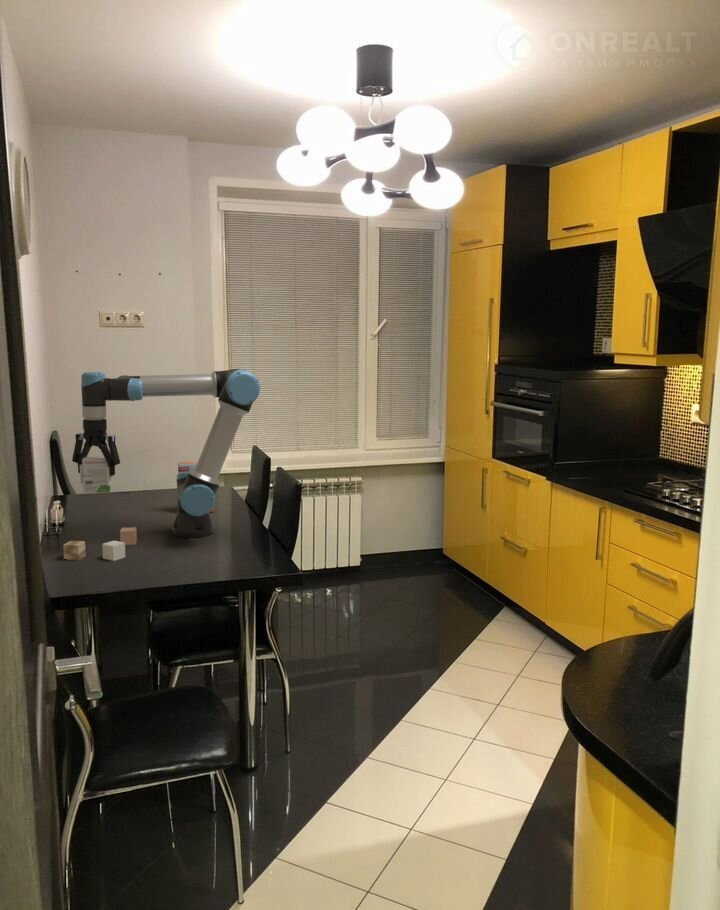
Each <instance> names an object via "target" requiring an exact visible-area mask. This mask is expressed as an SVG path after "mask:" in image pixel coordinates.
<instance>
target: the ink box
mask: <svg viewBox="0 0 720 910" xmlns="http://www.w3.org/2000/svg"><path fill="white" fill-rule="evenodd" d="M107 466H108V463H107V461H106V459H105V457H104V456H87V457H84V458H83V459H82V472H83V484H82V490H83V491H82V492H83V494H95V493H97V494H98V493H103V494H104V493H110V492H111V485H110V486H107V472H106V467H107Z"/></svg>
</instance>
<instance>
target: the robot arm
mask: <svg viewBox="0 0 720 910" xmlns="http://www.w3.org/2000/svg"><path fill="white" fill-rule="evenodd" d="M260 384H261V383H260V381H259V378H258V377H257V376H256V375H255V374H254V373H253V372H251V371H249V370H246V369H242V368H232V369H227V370H216V371H215V370H214V371H212V372H211V373H205V374H204V373H203V374H200V373H198V374H162V375H161V374H159V375H158V374H157V375H152V374H151V375H128V374H127V375H120V376H118V377H117V378H114V377H113V378H110V377H109V378H108V377H106V373H105V372H101V371H100V372H99V371H86V372H83V373H82V374H81V386H80V387H81V402H82V403H81V407H82V409H81V410H82V411H81V412H82V418H83V420H82V430H83V433H76V434H75V435H74V436H75V437H74V438H75V443H74V444H75V445H74V448H73V454H72V459H71V460H72V462H73V463H75V464H77V472H78V474H79V482H80V483H79V484H80V485H81V484H82V485H83V472H82V459H83V458H84V457H88V455H89V453H90V450H91V448H93V446H94V447H98V449H99V450H100V452H101V453H102V455H103V457H105V459H106V461H107V463H108V466H107V467H106V472H107V486H110V487H111V486H112V485H114V476H115V475H116V466H117V465H119V464H121V459H120V455H119V452H118V448H117V444H116V435H114V434H113V435H110V434H108V433H107V429H108V428H107V427H108V424H107V422H108V421H107V419H106V418H107V401H109V402H111V401H120V402H123V401H124V402H126V401H127V402H135V401H141V400H143V397H145V398H146V397H148V398H149V397H177V396H178V397H181V396H182V397H183V396H184V397H185V396H212V397H214V398H217V399H218V400H217V401H218V404H219V409H218V410H217V413H216V416H215V418H214V421H213V423H212V426H211V428H210V431H209V433H208V436H207V438H206V440H205V444H204V446H203V447H202V451H201V453H200V455H199V458H198V459H197V460H198V461H197V462H198V463H197V465H196V468H195V469H194V470H192V471H190V472H182V473H179V474H178V473H177V475H176V480H175V482H176V505H177V506H176V508H177V510H176V511H177V512H176V515H175V519H174V522H173V525H172V534H173V535H174V536H177V537H182V538H201V537H202V538H203V537H206V536H210V535H212V534H214V533H215V526H214V522H213V520H212V517H211V512H210V511H211V510H212V508H213V509H214V507H215V503H216V495H217V492H218V490H219V487H220V484H221V481H220V480H219V476H220V474H221V471H222V468H223V466H224V465H225V461H226V458H227V456H228V454H229V452H230V449H231V446H232V443H233V442H234V438H235V436H236V434H237V432H238V429H239V426H240V424H241V421H242V419H243V417H244V416H245V415H247V414H250V411H251V408H252V405H253V404H254V402H255V401H256V400H257V399H258V397H259V396H260V391H261V385H260ZM84 440H85V442H84Z"/></svg>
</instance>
